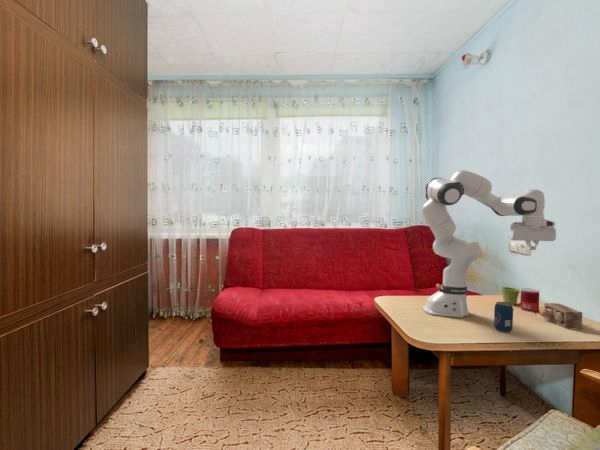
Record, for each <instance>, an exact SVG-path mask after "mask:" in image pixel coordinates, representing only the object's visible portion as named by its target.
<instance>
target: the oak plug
mask: <svg viewBox="0 0 600 450" xmlns="http://www.w3.org/2000/svg"><path fill="white" fill-rule="evenodd" d="M555 319H556V320H557V321H558V322H563V321H564V314H562V313H561V312H556V313H555Z"/></svg>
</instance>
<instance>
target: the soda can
mask: <svg viewBox="0 0 600 450" xmlns="http://www.w3.org/2000/svg"><path fill="white" fill-rule="evenodd" d="M493 314H494V315H493V318H494V319H493V326H494V329H495V330H496V331H498V332H501V333H511V332H512V331H513V327H514V323H513V321H514V308H513V306H512V304H510V303H506V302H503V301H496V303H495V305H494V313H493Z"/></svg>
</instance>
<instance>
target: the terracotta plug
mask: <svg viewBox="0 0 600 450" xmlns="http://www.w3.org/2000/svg"><path fill="white" fill-rule="evenodd" d="M539 314H540V316H541V317H542V318H544V317H546V316H553V309H546V308H545V307H544V306H543V307H539Z"/></svg>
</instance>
